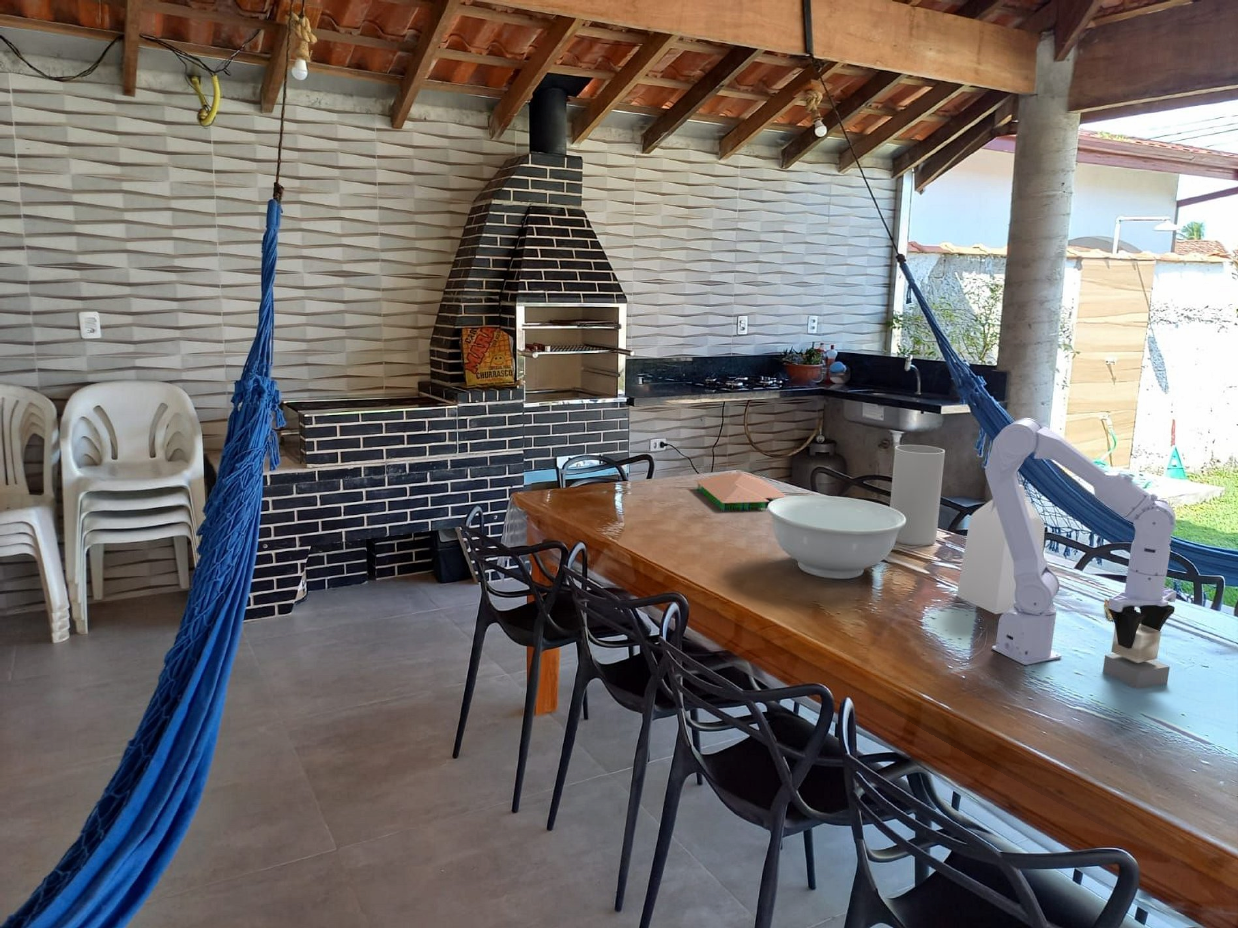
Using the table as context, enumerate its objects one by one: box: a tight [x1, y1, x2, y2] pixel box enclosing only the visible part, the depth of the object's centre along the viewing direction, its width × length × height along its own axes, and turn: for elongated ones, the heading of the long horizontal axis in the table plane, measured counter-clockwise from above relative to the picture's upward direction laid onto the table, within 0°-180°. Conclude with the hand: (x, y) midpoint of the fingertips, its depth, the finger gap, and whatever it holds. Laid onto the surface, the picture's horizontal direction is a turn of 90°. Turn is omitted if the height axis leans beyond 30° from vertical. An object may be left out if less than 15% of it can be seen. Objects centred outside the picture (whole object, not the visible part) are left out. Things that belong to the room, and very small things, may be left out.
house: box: [694, 472, 789, 512], centre depth 277 cm, size 23×33×8 cm
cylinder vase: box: [889, 444, 946, 547], centre depth 233 cm, size 12×12×25 cm
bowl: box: [766, 495, 906, 580], centre depth 208 cm, size 32×32×15 cm
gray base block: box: [1102, 653, 1171, 690], centre depth 154 cm, size 7×7×4 cm
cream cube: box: [1110, 624, 1162, 663], centre depth 153 cm, size 5×5×5 cm
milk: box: [956, 484, 1046, 615], centre depth 187 cm, size 12×12×26 cm
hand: (1135, 643), depth 153 cm, fingers open, 5 cm apart
